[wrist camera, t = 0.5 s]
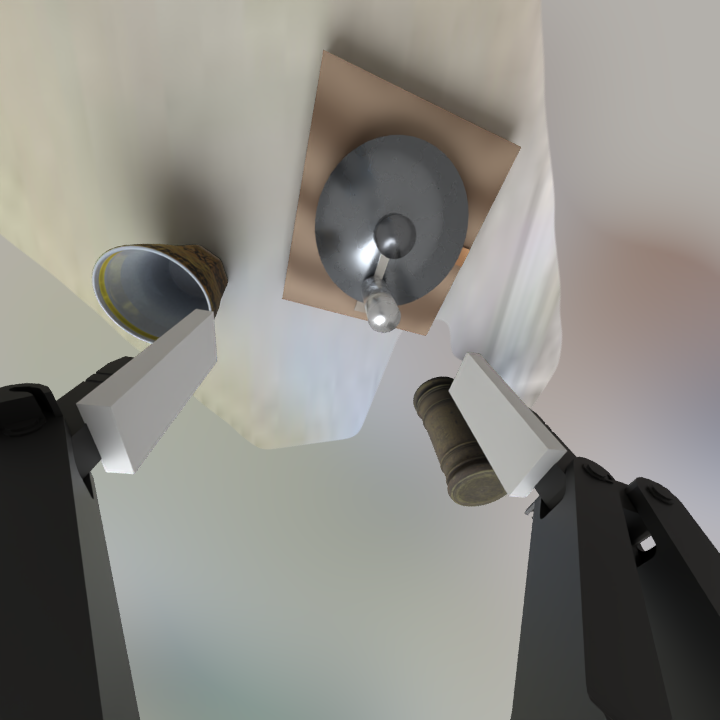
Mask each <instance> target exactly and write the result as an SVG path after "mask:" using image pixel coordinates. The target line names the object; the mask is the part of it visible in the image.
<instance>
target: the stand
mask: <svg viewBox="0 0 720 720" xmlns="http://www.w3.org/2000/svg"><path fill="white" fill-rule="evenodd" d="M389 135H406V136H413V137H416V138H419V139H422V140H425V141H427V142H429V143H430V144H432V145H434V146H436V147H437V148H438V149H439V150H441V151H442V152H443V153H444V154H445V155H446V156H447V157H448V158H449V159H450V161H451V162H452V163H453V165H454V166H455V168H456V169H457V171H458V173H459V175H460V177H461V179H462V181H463V184H464V187H465V191H466V195H467V201H468V213H469V217H468V228H467V234H466V238H465V242H464V245H463V248H462V250H461V253H460V255H459V257H458V259H457V261H456V263H455V265H454V266H453V268H452V269H451V271H450V272H449V274H448V275H447V276H446V277H445V278H444V280H443V281H442V282H441V283H440V284H439V285H438V286H437V287H435V288H434V289H433V290H432V291H430V292H429V293H428V294H426V295H424V296H423V297H421V298H419V299H417V300H415V301H413V302H410V303H407V304H404V305H399V306H398V308H399V310H400V313H401V320H400V322H399V324H398V326H397V327H396V328H397V329H401V330H405V331H409V332H413V333H417V334H421V335H425V336H426V335H427V333H428V331H429V329H430V327H431V325H432V323H433V321H434V319H435V317H436V315H437V313H438V311H439V309H440V307H441V305H442V303H443V301H444V299H445V297H446V295H447V293H448V291H449V289H450V287H451V285H452V283H453V281H454V279H455V278H456V276H457V274H458V272H459V270H460V268H461V267H462V265H463V263H464V261H465V259H466V257H467V255H468V253H469V251H470V248H471V246H472V244H473V242H474V240H475V238H476V236H477V234H478V232H479V230H480V228H481V226H482V224H483V222H484V220H485V218H486V216H487V214H488V212H489V210H490V208H491V206H492V204H493V202H494V200H495V198H496V196H497V194H498V192H499V190H500V188H501V186H502V184H503V182H504V180H505V178H506V176H507V174H508V172H509V170H510V168H511V166H512V164H513V162H514V160H515V158H516V156H517V154H518V153H519V151H520V149H521V147H520V146H518V145H516V144H514V143H512V142H510V141H508V140H506V139H504V138H502V137H500V136H498V135H496V134H494V133H491V132H489V131H487V130H485V129H483V128H481V127H479V126H477V125H475V124H473V123H471V122H469V121H467V120H465V119H463V118H461V117H459V116H457V115H455V114H453V113H451V112H449V111H447V110H445V109H443V108H441V107H439V106H437V105H435V104H433V103H431V102H429V101H426V100H424V99H422V98H420V97H418V96H416V95H414V94H412V93H410V92H408V91H406V90H404V89H402V88H400V87H398V86H396V85H394V84H392V83H390V82H388V81H386V80H384V79H382V78H380V77H378V76H376V75H374V74H372V73H370V72H368V71H366V70H364V69H361V68H359V67H357V66H355V65H353V64H351V63H349V62H347V61H345V60H343V59H341V58H339V57H337V56H335V55H333V54H331V53H329V52H327V51H325V50H323V56H322V62H321V68H320V74H319V80H318V86H317V92H316V98H315V104H314V110H313V116H312V122H311V129H310V135H309V141H308V147H307V153H306V159H305V165H304V171H303V177H302V183H301V189H300V195H299V201H298V207H297V213H296V219H295V225H294V231H293V237H292V243H291V249H290V255H289V261H288V267H287V273H286V279H285V286H284V292H283V298H282V299H285V300H289V301H293V302H296V303H300V304H304V305H308V306H312V307H316V308H320V309H324V310H327V311H331V312H335V313H339V314H343V315H347V316H351V317H355V318H359V319H362V320H366V321H368V318H367V314H366V310H365V306H364V303H362V302H359V301H357V300H355V299H353V298H352V297H350V296H349V295H347V294H346V293H344V292H343V291H342V290H341V289H340V288H339V287H338V286H337V285H336V284H335V283H334V282H333V281H332V279H331V278H330V276H329V275H328V274H327V272H326V270H325V268H324V266H323V264H322V262H321V259H320V256H319V253H318V249H317V245H316V237H315V217H316V210H317V206H318V202H319V198H320V195H321V193H322V190H323V188H324V185H325V183H326V181H327V180H328V178H329V176H330V174H331V173H332V172H333V170H334V169H335V168H336V166H337V165H338V164H339V163H340V162H341V161H342V160H343V158H344V157H345V156H346V155H348V154H349V153H350V152H351V151H353V150H354V149H355V148H357V147H358V146H360V145H362V144H364V143H366V142H368V141H370V140H373V139H376V138H378V137H383V136H389Z"/></svg>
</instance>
